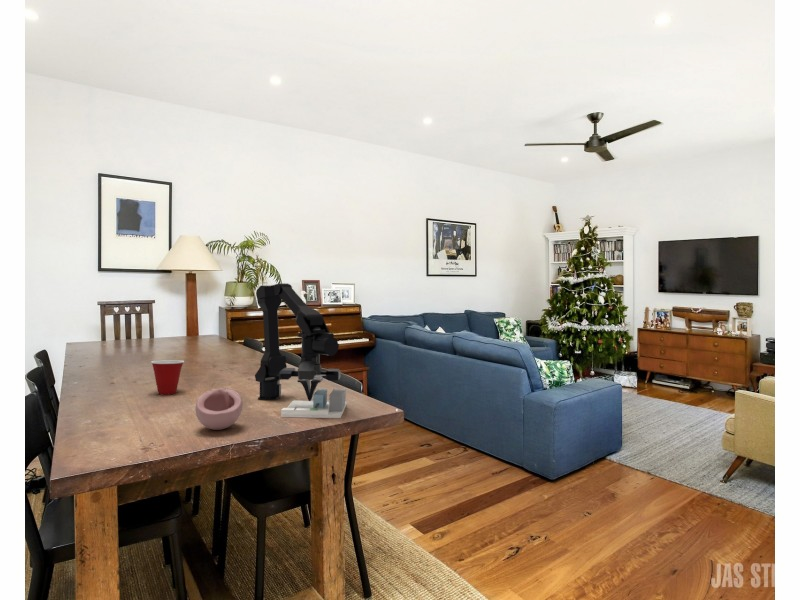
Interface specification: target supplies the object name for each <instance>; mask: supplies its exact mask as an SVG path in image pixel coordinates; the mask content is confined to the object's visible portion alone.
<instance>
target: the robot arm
mask: <svg viewBox="0 0 800 600" xmlns="http://www.w3.org/2000/svg"><path fill="white" fill-rule="evenodd" d="M255 296H256V301H257V304H258V306H259V308H260V309H261V310H262V319H263V320H262V321H263V324H262V325H263V338H264V340H263V342H264V353H263V355H262V356H261V359H260V366H259V368H258V370H257V371H256V372H255V374H254V377H255V382H258V383H259V397H257V400H269V401H270V400H271V401H273V400H275V401H276V400H278V399H279V398H280V397H281V396H282V384H281V383H280V380H281V381H282V380H283V381H284V380H290V379H292V377H295V378H296V377H297V383H300V384H301V385H302V387H303V389H304V392H305V395H306V398H307V401H313V395H314V393H315V392H316V389H317V386H318V385H319V383H321V382H322V381H323V380H324V378H326V380H327V381H335V382H336V381H339V380H340V378H341V370H340V368H328V369H326V371H323V370H322V365H321V363H320V362H321V361H320V360H321V359H320V358H321V355H325V356H332V357H333V356H334V355H336V354H337V353H338V351H339V348H340V345H339V342H338V339H337V338H336V337H335V336H334V335H335V334H334V333H331V332H330V330H329V327H328V326H327V324H326V321H325V319H324V316H323V315H322V313H320V312H319V311H317V310H316V309H314V308H312V307H310V306H308V304H307V303H305V301H304V300H303V299H302V298H301V297H300V296H299V294H298V293H297V292H296V291H295V290H294V289H293V286H292V285H291V284H290V283H286V282H284V283H283V282H282V283H278V282H277V283H276V284H271V285H263V284H262V285H259V287H258V289H256V291H255ZM282 301H283V303H284V304H285V305H286V306H287V307H288V309H290V311H291V312H292V313H293V314H294V316H295V322H296V325H297V326H298V328H299V330H300V331H301V332H299V333H298V334H297V337H298V338H301V355H300V363H299V365H298V368H297V370H296V368H295V367H288V366H287V357H286V356H285V355H283V353H281V351H280V333H279V316H278V313H279V312H278V310H279V308H280V306H281V304H282Z"/></svg>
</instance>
